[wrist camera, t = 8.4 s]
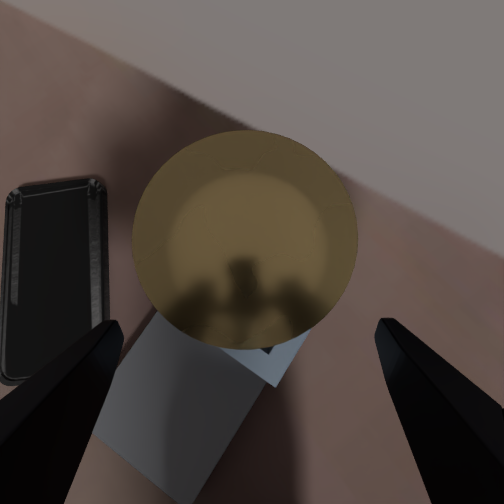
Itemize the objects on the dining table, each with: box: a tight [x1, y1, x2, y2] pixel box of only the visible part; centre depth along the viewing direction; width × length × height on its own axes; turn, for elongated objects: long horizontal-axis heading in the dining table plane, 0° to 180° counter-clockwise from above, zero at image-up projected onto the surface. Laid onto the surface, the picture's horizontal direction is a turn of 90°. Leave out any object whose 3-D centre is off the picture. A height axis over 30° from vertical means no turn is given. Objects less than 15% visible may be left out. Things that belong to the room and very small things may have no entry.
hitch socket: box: [92, 311, 311, 504], centre depth 18 cm, size 18×9×5 cm, turn 147°
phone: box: [0, 178, 110, 386], centre depth 21 cm, size 8×1×15 cm
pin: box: [132, 130, 358, 350], centre depth 13 cm, size 5×5×13 cm
